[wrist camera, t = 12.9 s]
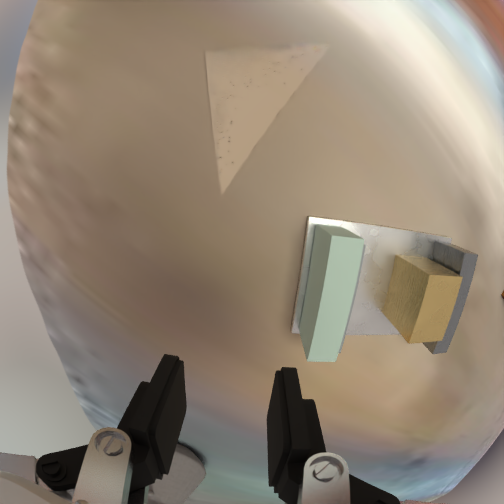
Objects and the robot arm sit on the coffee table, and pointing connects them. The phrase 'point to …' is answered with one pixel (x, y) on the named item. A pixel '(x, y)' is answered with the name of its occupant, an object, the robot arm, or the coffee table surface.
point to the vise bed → (388, 274)
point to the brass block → (421, 298)
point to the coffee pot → (178, 479)
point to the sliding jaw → (330, 291)
